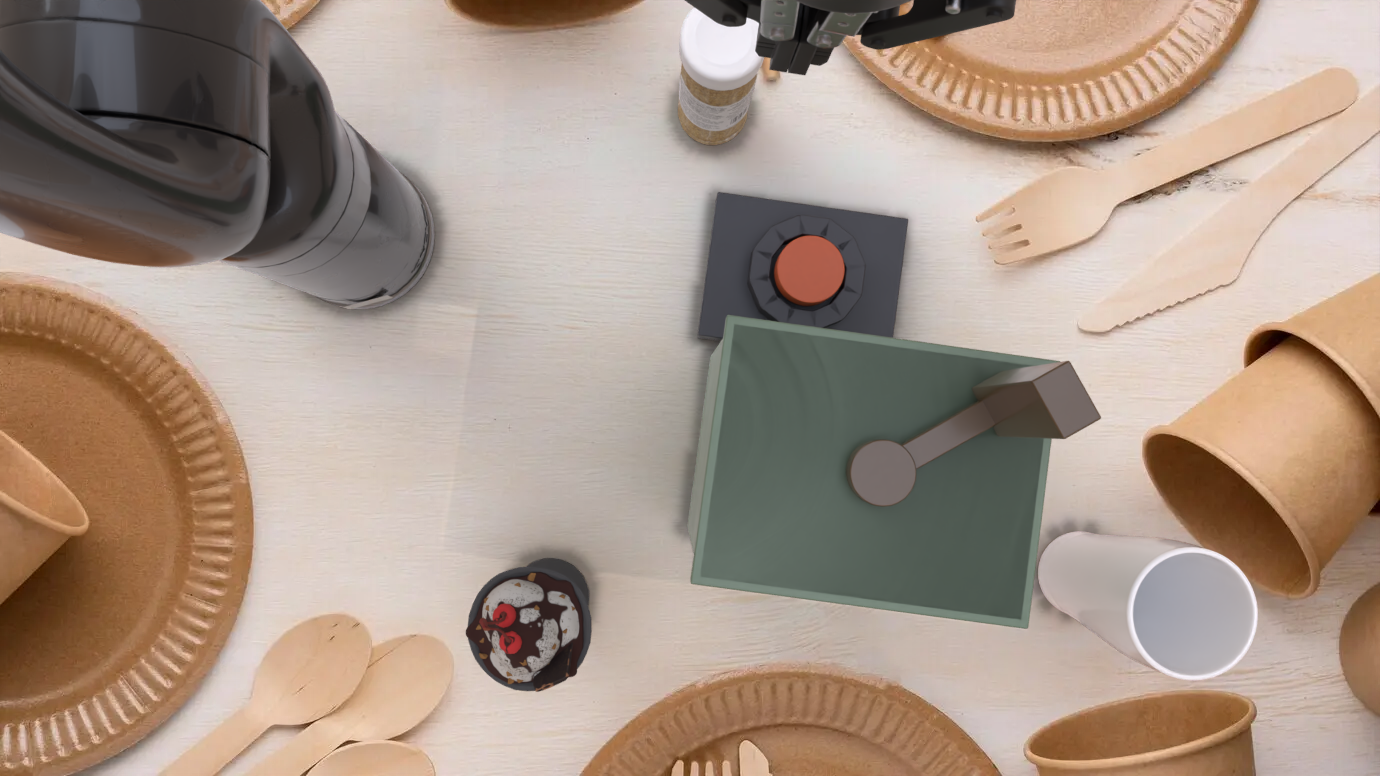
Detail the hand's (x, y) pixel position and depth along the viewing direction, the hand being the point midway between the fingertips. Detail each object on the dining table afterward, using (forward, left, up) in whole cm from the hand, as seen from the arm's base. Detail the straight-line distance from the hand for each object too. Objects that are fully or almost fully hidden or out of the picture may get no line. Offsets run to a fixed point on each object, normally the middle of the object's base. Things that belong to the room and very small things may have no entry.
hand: (789, 48), depth 42 cm
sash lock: (+9, -15, -4) cm, 17 cm away
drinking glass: (+24, -21, -26) cm, 42 cm away
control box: (+4, -5, -26) cm, 27 cm away
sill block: (+6, -16, -26) cm, 31 cm away
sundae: (-9, -27, -26) cm, 39 cm away
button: (+4, -5, -22) cm, 23 cm away
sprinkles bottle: (-3, +5, -26) cm, 27 cm away
